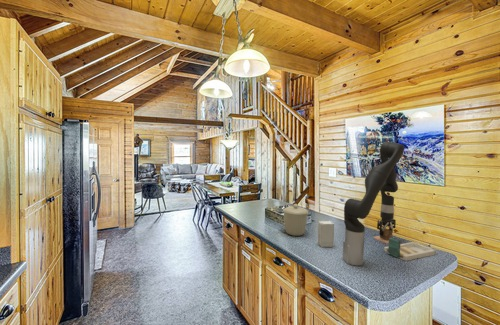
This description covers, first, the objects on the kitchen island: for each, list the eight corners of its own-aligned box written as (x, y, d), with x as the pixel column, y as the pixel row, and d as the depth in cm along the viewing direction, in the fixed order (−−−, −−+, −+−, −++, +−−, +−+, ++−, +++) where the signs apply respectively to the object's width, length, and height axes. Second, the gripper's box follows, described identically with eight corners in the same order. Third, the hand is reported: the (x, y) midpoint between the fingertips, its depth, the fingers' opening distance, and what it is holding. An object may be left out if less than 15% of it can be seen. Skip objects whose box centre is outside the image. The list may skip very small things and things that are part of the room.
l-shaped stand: (400, 259, 120) (401, 242, 120) (385, 251, 129) (385, 236, 129) (419, 254, 126) (420, 239, 126) (404, 248, 135) (404, 233, 134)
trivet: (387, 244, 141) (387, 242, 141) (373, 238, 151) (373, 236, 151) (398, 242, 145) (398, 240, 145) (384, 236, 154) (384, 235, 154)
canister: (310, 238, 148) (311, 207, 147) (283, 237, 149) (284, 206, 148) (304, 229, 166) (305, 201, 165) (280, 228, 167) (281, 201, 166)
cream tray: (405, 261, 119) (406, 256, 119) (384, 251, 131) (384, 247, 131) (436, 254, 128) (436, 250, 128) (413, 245, 140) (413, 241, 140)
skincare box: (330, 243, 141) (331, 220, 140) (334, 247, 135) (335, 223, 134) (317, 243, 140) (318, 220, 140) (320, 247, 134) (321, 223, 134)
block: (386, 240, 144) (386, 231, 144) (379, 237, 149) (380, 229, 149) (391, 239, 146) (392, 230, 146) (384, 236, 151) (385, 228, 151)
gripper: (384, 213, 141) (383, 238, 142) (400, 211, 146) (398, 236, 147) (374, 210, 148) (373, 234, 149) (389, 209, 153) (388, 232, 154)
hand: (385, 235), depth 148 cm, fingers open, 8 cm apart
